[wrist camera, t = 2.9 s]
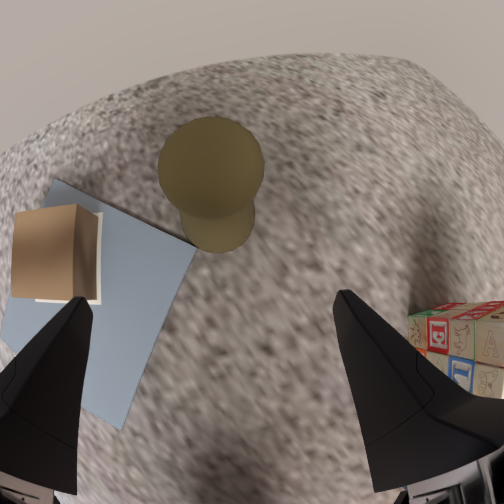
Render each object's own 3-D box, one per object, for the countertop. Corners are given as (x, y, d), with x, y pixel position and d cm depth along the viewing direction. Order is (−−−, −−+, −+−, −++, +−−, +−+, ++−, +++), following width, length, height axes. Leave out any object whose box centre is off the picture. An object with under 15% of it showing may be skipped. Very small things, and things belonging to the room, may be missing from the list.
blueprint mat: (122, 429, 19) (120, 430, 18) (1, 337, 18) (-1, 337, 18) (197, 248, 22) (197, 247, 21) (56, 179, 21) (55, 178, 21)
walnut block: (97, 299, 20) (73, 300, 16) (37, 297, 19) (11, 297, 15) (98, 217, 21) (76, 203, 17) (40, 223, 20) (16, 212, 16)
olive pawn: (266, 236, 22) (301, 187, 11) (195, 265, 21) (163, 239, 11) (238, 171, 23) (247, 85, 12) (171, 197, 22) (129, 124, 11)
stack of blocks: (434, 460, 20) (493, 499, 8) (395, 481, 20) (450, 532, 8) (448, 301, 23) (541, 298, 11) (405, 313, 23) (508, 320, 10)
